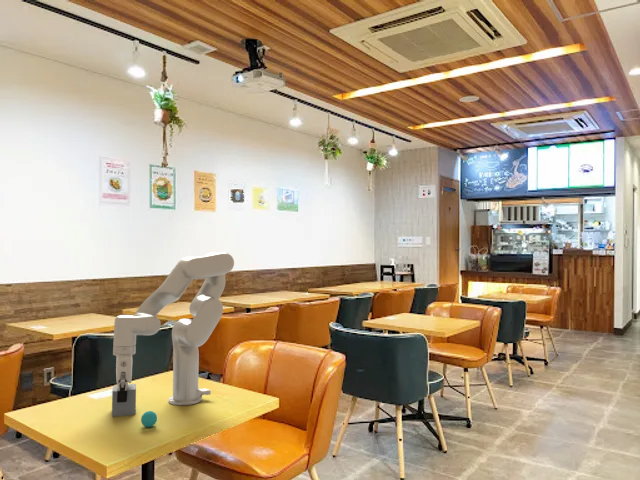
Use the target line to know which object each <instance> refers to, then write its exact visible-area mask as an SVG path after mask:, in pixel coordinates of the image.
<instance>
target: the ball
mask: <svg viewBox="0 0 640 480" xmlns="http://www.w3.org/2000/svg"><path fill="white" fill-rule="evenodd" d="M140 420H141V421H140V422H141V424H142V425H143V426H144V427H146V428H150V427H154V426H155V425H156V423H157V421H158V416H157V413H156V412H155V411H153V410H148V411H145V412H143V414H142V415H141V418H140Z"/></svg>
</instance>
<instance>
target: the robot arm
mask: <svg viewBox="0 0 640 480" xmlns="http://www.w3.org/2000/svg"><path fill="white" fill-rule="evenodd" d="M234 265H235V260H234V258H233V256H232V255H231V254H230V253H228V252H224V251H221V252H219V251H210V252H208V253H206V254H205V255H203V256H185V257H183V258H181V259H180V260H179V261H178V262H177V264H176V265H175V266H174V268H173V269H172V270H171V271H170V273H169V274H168V276H166V278H165V280H164V281H163V282H162V284H160V286H159V287H158V288H157V289H156V290H154V291H153V292H152V293H151V294H150V295H149V296H148V297H146V299H145V300H144V301H143V302H142V303H141V305H139V307H138V308H137V309H136V312H135V313H134V314H133V315H132V314H120V315H117V316H115V318H114V323H113V324H114V326H113V343H112V344H113V347H112V355H113V356H115V358H116V360H115V361H116V363H115V367H116V368H115V375H116V384H117V385H118V391H117V402H118V403H119V402H127V384H132V379H133V377H132V376H133V374H132V373H133V356H134V355H136V352H137V351H136V349H137V348H136V347H137V346H136V345H137V336H153V335H156V334H157V333H158V332H159V331H160V329H161V326H162V324H161V320H160V318H158V317H157V316H158V314H159V313H160V312H161V311H162V310H163V309H164V308H166V307H167V306H169V305H170V304H174V303H176V302H177V301H178V300H179V299H181V297H182V296H183V294H184V293H185V291H186V290H187V288H188V287H189V286H190V284H191V283H192V282H193V280H204V281H203V283H202V286H201V287H200V288H199V290H198V292H197V293H196V295H195V297H193V299H192V300H191V302H190V304H189V308H188V309H189V310H188V311H189V313H190V315H191V316H192V317H193V318H180V319H179V320H177V321H176V322H174V324H173V327H172V328H171V329H172V330H171V340H172V346H173V347H172V349H173V351H172V352H173V356H172V357H173V359H172V360H173V363H172V364H173V365H172V366H173V367H172V370H173V371H172V372H173V373H172V396H169V398H168V403H169V404H170V405H173V406H190V405H196V404H199V403H200V402H201V401H202V400H203V396H210V395H211V393H212V392H211V389H207V388H200V387H199V364H200V363H199V360H200V353H199V352H200V351H199V347H202V346H203V345H204V344H205V343H206V342H207V341H208V340H209V338H210V336H211V335H212V333H213V332H214V330H215V328H216V327H217V325H218V323H219V322H220V320H221V318H222V316H223V312H224V306H223V303H222V301H221V300H220V298H221V296H222V294H223V292H224V290H225V287H226V274H228V273H230V272H232V270H233V269H234Z"/></svg>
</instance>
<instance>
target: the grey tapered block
mask: <svg viewBox="0 0 640 480" xmlns="http://www.w3.org/2000/svg"><path fill="white" fill-rule="evenodd" d="M117 391H118V384H117V385H115V384H114V385H113V387H112V393H111V395H112V396H111V398H112V399H111V401H112V402H111V417H112V418H114V417H123V416H133V415H136V411H137V409H136V408H137V404H136V403H137V402H136V401H137V399H136V398H137V384H136V383H130V384H129V383H128V384H127V402H119V403H118V402H117Z"/></svg>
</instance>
